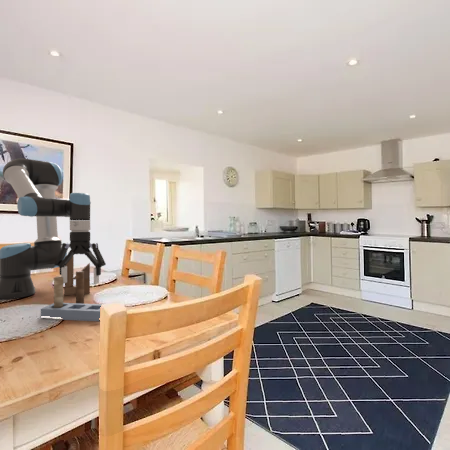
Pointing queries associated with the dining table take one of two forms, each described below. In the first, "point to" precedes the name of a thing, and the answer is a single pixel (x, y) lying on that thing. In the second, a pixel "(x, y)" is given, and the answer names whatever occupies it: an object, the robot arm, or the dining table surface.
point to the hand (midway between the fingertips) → (80, 283)
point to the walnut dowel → (80, 287)
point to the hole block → (73, 311)
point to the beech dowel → (58, 292)
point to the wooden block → (69, 287)
